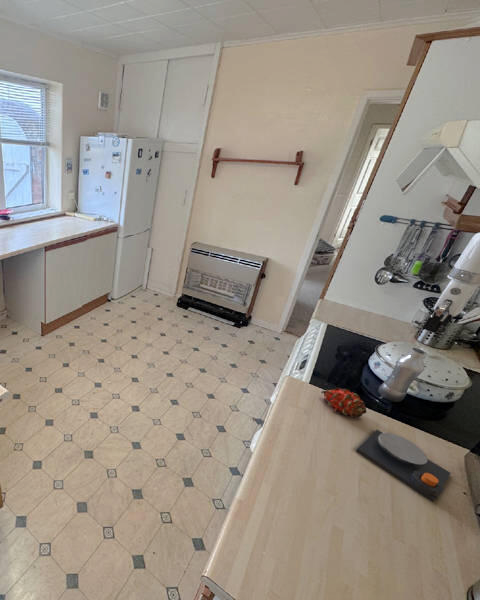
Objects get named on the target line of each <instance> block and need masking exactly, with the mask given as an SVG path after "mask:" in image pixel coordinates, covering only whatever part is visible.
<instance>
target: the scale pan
mask: <svg viewBox="0 0 480 600" xmlns="http://www.w3.org/2000/svg"><path fill="white" fill-rule="evenodd" d="M378 442H379V444H380V445H381V447H382V448H383V449H384V450H385V451H386V452H388V453H389V454H390V455H392V456H393V457H395V458H396V459H398V460H400V461H402V462H404V463H407V464H410V465H413V466H423V465H425V464H426V463H427V459H428V457H427V454H426V453H425V452H424V451H423V450H422V449H421V448H420V447H419V446H418V445H417V444H415V443H414V442H412V441H411V440H409V439H406V438H405V437H403V436H401V435H398V434H395V433H391V432H382V434H380V435H379V437H378Z"/></svg>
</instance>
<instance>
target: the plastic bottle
mask: <svg viewBox="0 0 480 600" xmlns="http://www.w3.org/2000/svg"><path fill="white" fill-rule="evenodd" d="M427 355H428V352H426V351H425V350H423V349H421V348H418V347H417V348H416V347H411V349H410V350H409V351H408V354H405V355H402V356H400V357H398V358H397V361H396V363H395V365H394V367H393V369H392V371H391V373H390V375H389V376H388V377H387V378H386V380H385V381H384V382H382V384H381V383H380V385H379V387H378V390H377V392H378V394H379V396H381V397H382V398H384V399H386V400H387V401H390V402H393V403H400V402H401V401H403V400H404V399H405V397H406V396H407V393H408V390H409V388H410V387H411V385H412V384H413V382H414V381H415V380H416V379H417V378H418V377H419V376H420V375H421V374H422V373H423V372H424V371H425V370H426V369H425V368H426V365H425V362H424V360H425V359H426V357H427Z"/></svg>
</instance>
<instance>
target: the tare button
mask: <svg viewBox="0 0 480 600" xmlns="http://www.w3.org/2000/svg"><path fill="white" fill-rule="evenodd" d="M421 480H422V481H423V482H424V483H425V484H427V485H429V486H431V487H435V485H436V484H437V483H438V482H439V481H438V479H437V478H436V477H435V476H433V475H432V474H429V473H424V474H423V476H422V477H421Z"/></svg>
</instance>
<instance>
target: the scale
mask: <svg viewBox="0 0 480 600" xmlns="http://www.w3.org/2000/svg"><path fill="white" fill-rule="evenodd" d="M382 433H383V432H382V431H381V430H379V429H375V430H374V431H373V432H372V434H371V435H369V436H368V437H367V438H366V439H365V440H364V442H363V443H361V444H360V446H358V447H357V448H356V449H355V452H356V453H358V454H359V455H361V456H362V457H364V458H365V459H366V460H368V461H370V462H371V463H373V464H374V465H376V466H377V467H379V468H380V469H382V470H384V471H385V472H387V473H388V474H389V475H391V476H392V477H394V478H395V479H397V480H399V481H400V482H401V483H403V484H405V485H406V486H408V487H409V488H410V489H412V490H414V491H415V492H417V493H418V494H420V495H421V496H423V497H424V498H426V499H427V500H429V501H430V502H432V503H433V502H434V501H435V500H436V498H437V497H439V496H441V495H442V493H444V491H445V487H444V486H445V484H446V482H447V480H448V479H449V477H450V476H451V474H452V472H450V471H448V470H447V469H445V468H443V467H442V466H440V465H438V464H437V463H435V462H433V461H432V460H430V459H428V458H427V463H426V464H425V465H423V466H413V465H410V464H407V463H404V462H402V461H400V460H398V459H396V458H395V457H393V456H392V455H390V454H389V453H388V452H386V451H385V450H384V449H383V448H382V447H381V445H380V444H379V442H378V437H379V435H380V434H382ZM424 473H429V474H432V475H433V476H435V477H436V478H437V479H438V481H439V482H438V483H437V484H436V485H435V487H431V486H429V485H427V484H425V483H424V482H423V481H422V480H421V477H422V476H423V474H424Z"/></svg>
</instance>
